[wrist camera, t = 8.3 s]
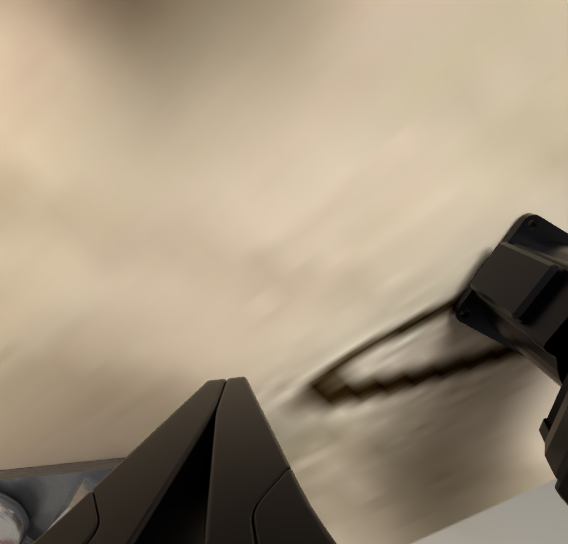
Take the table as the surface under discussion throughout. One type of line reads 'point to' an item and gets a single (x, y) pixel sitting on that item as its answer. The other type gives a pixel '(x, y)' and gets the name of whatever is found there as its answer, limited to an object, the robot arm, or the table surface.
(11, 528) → the lever
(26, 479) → the base
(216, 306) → the table surface
